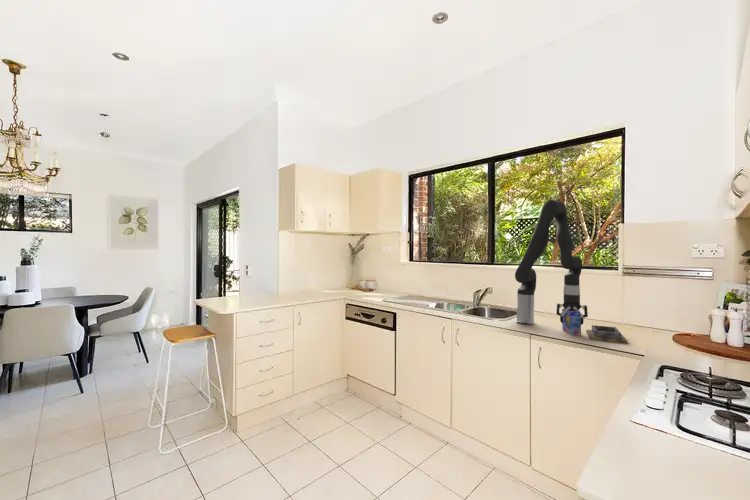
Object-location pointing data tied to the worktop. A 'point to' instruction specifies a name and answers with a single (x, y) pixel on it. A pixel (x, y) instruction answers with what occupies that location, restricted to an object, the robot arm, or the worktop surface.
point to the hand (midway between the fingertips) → (571, 324)
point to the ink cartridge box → (572, 322)
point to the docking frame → (606, 334)
